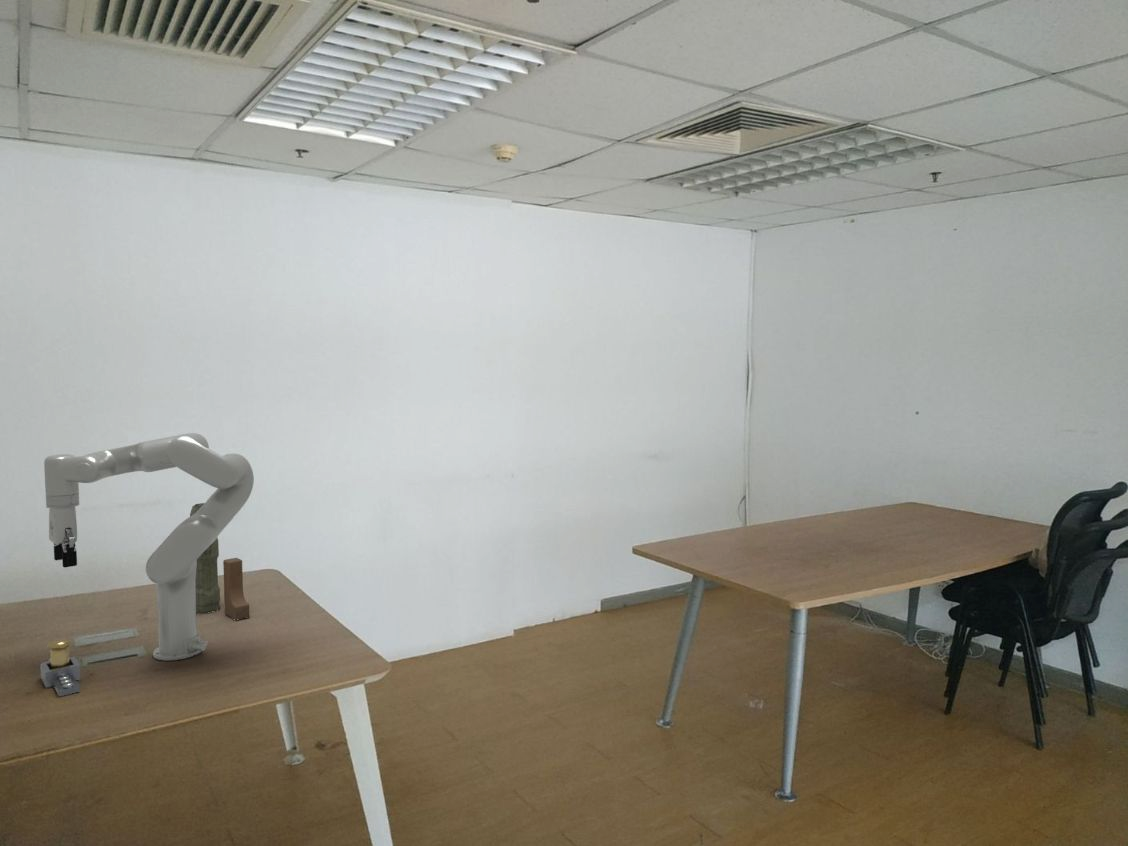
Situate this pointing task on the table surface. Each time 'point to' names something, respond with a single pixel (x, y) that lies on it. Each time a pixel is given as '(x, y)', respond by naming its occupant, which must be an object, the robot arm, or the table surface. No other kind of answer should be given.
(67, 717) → the table surface
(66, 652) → the pin
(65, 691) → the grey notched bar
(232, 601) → the wooden block
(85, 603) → the table surface
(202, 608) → the thermos
